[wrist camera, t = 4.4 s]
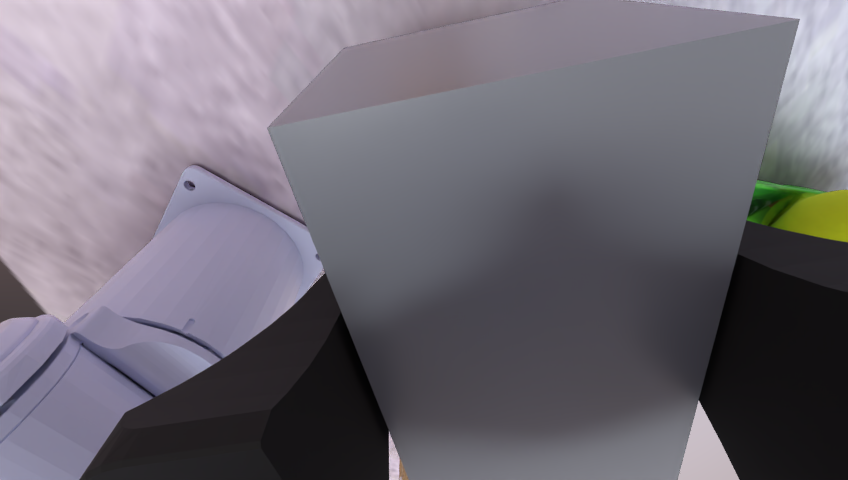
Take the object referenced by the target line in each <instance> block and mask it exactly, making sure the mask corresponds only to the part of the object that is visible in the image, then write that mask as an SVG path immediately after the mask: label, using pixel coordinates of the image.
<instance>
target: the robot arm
mask: <svg viewBox="0 0 848 480" xmlns="http://www.w3.org/2000/svg"><path fill="white" fill-rule="evenodd" d="M188 181H191V182H193V183H194V185H195V188H194V187H191V186H190V185H189V184H188ZM322 270H323V265H322V263H321V260H320V258H319V255H318V254H317V250H316V248H315V246H314V243H313V241H312V238H311V236H310V233H309V231H308V228H307V226H305V225H303V224H301V223H300V222H298V221H296V220H294V219H292V218H291V217H289V216H287V215H285V214H283V213H282V212H280V211H278V210H276V209H275V208H273V207H271V206H269V205H267V204H266V203H264V202H262V201H260V200H259V199H257V198H255V197H253V196H251V195H250V194H248V193H246V192H244V191H242V190H241V189H239V188H237V187H235V186H234V185H232V184H230V183H228V182H226V181H225V180H223V179H221V178H219V177H217V176H216V175H214V174H212V173H210V172H209V171H207V170H205V169H203V168H201V167H199V166H197V165H191V166H189V167H187V168H186V169H185V170H184V171H183V173H182V175H181V177H180V180H179V182H178V184H177V186H176V188H175V191H174V193H173V195H172V197H171V199H170V202H169V204H168V206H167V208H166V210H165V213H164V215H163V217H162V219H161V222H160V224H159V226H158V228H157V230H156V233H155V235H154V237H153V239H152V240H151V241H150V242H149V243H148V244H147V245H146V246H145V247H144V248H143V249H142V250H140V251H139V252H138V253H137V254H136V255H135V256H134V257H133V258H132V259H131V260H130V261H129V262H128V263H127V264H126V265H125V266H124V267H122V268H121V269H120V270H119V271H118V272H117V273H116V274H115V275H114V276H113V277H112V278H111V279H110V280H109V281H108V282H107V283H106V284H105V285H103V286H102V287H101V288H100V289H99V290H98V291H97V292H96V293H95V294H94V295H93V296H92V297H91V298H90V299H89V300H88V301H87V302H85V303H84V304H83V305H82V306H81V307H80V308H79V309H78V310H77V311H76V312H75V313H74V314H73V315H72V316H71V317H70V318H69V319H68V320H66V321H65V322H64V323H62V322H61V321H60V320H59V319H58V318H56V317H55V316H53V315H51V314H48V315H40V316H38V317H35V318H33V317H25V318H12V319H8V320H6V321H4V322H2V323H0V480H389V429H388V427H387V424H386V422H385V419H384V417H383V415H382V412H381V410H380V407H379V405H378V402H377V400H376V397H375V395H374V392H373V390H372V387H371V385H370V382H369V380H368V377H367V375H366V372H365V370H364V367H363V365H362V362H361V360H360V357H359V355H358V352H357V350H356V347H355V345H354V342H353V340H352V337H351V335H350V333H349V330H348V328H347V325H346V323H345V320H344V318H343V315H342V313H341V310H340V308H339V305H338V303H337V300H336V298H335V295H334V293H333V290H332V288H331V285H330V283H329V280H328V278H327V275H326V273H325V274H324V275H323V276H322V277H321V278H320V279H319V280H318V281H317V282H316V283H315V284H314V285H313V286H312V287H311V288H310V286H311V285H312V284H313V282H314V281H315V279H316V278H317V277H318V275H319V274H320V273H321V271H322ZM309 288H310V289H309ZM308 289H309V290H308ZM699 401H700V403H701V405H702V407H703V409H704V411H705V412H706V414H707V416H708V418H709V420H710V422H711V424H712V426H713V428H714V430H715V431H716V433H717V435H718V437H719V439H720V441H721V443H722V445H723V447H724V449H725V451H726V453H727V455H728V457H729V459H730V461H731V463H732V465H733V467H734V469H735V471H736V473H737V475H738V477H739V479H740V480H848V242H843V241H837V240H831V239H826V238H820V237H815V236H811V235H806V234H801V233H797V232H792V231H787V230H783V229H778V228H774V227H770V226H766V225H762V224H758V223H755V222H751V221H748V220H746V223H745V227H744V231H743V235H742V239H741V242H740V246H739V250H738V254H737V257H736V261H735V265H734V269H733V272H732V276H731V280H730V284H729V287H728V291H727V295H726V299H725V303H724V306H723V310H722V314H721V318H720V321H719V325H718V329H717V333H716V336H715V340H714V344H713V348H712V352H711V355H710V359H709V363H708V367H707V370H706V374H705V378H704V382H703V385H702V389H701V393H700V397H699Z"/></svg>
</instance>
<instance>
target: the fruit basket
mask: <svg viewBox="0 0 848 480" xmlns="http://www.w3.org/2000/svg"><path fill="white" fill-rule="evenodd" d="M747 220H748V221H751V222H755V223H758V224H762V225H766V226H770V227H774V228H778V229H783V230H787V231H792V232H797V233H801V234H806V235H811V236H815V237H820V238H826V239H831V240H837V241H843V242H848V190H838V191H831V192H824V191H819V190H814V189H809V188H805V187H798V186H792V185H779V184H775V183H771V182H766V181H760V180H757V182H756V186H755V190H754V193H753V197H752V201H751V205H750V208H749V212H748V216H747Z"/></svg>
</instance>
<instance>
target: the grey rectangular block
mask: <svg viewBox="0 0 848 480" xmlns="http://www.w3.org/2000/svg"><path fill="white" fill-rule="evenodd" d="M799 20H800V19H793V18H784V17H775V16H766V15H756V14H747V13H738V12H728V11H719V10H710V9H700V8H691V7H682V6H672V5H663V4H654V3H645V2H635V1H626V0H563V1H558V2H553V3H549V4H544V5H540V6H535V7H530V8H526V9H521V10H516V11H512V12H507V13H503V14H498V15H493V16H489V17H484V18H480V19H475V20H470V21H466V22H461V23H457V24H452V25H447V26H443V27H438V28H434V29H429V30H424V31H420V32H415V33H411V34H406V35H401V36H397V37H392V38H388V39H383V40H378V41H374V42H369V43H365V44H360V45H355V46H351V47H346V48H344V49H343V50H342V51H341V52H340V53H339V54H338V55H337V56H336V57H335V58H334V59H333V60H332V61H331V62H330V63H329V64H328V65H327V66H326V67H325V68H324V69H323V70H322V71H321V72H320V74H319V75H318V76H317V77H316V78H315V79H314V80H313V81H312V82H311V83H310V84H309V85H308V86H307V87H306V88H305V89H304V90H303V91H302V92H301V93H300V94H299V95H298V96H297V97H296V98H295V100H294V101H293V102H292V103H291V104H290V105H289V106H288V107H287V108H286V109H285V110H284V111H283V112H282V113H281V114H280V115H279V116H278V117H277V118H276V119H275V120H274V121H273V122H272V123H271V125H270V126H269V127H268V128H267V129H268V131H269V134H270V136H271V139H272V141H273V144H274V146H275V149H276V151H277V154H278V156H279V159H280V161H281V164H282V166H283V168H284V171H285V173H286V176H287V178H288V181H289V183H290V186H291V188H292V191H293V193H294V196H295V198H296V201H297V203H298V206H299V208H300V211H301V213H302V216H303V218H304V221H305V223H306V226H307V228H308V231H309V233H310V236H311V238H312V241H313V243H314V246H315V248H316V250H317V253H318V255H319V258H320V260H321V263H322V265H323V268H324V270H325V273H326V275H327V278H328V280H329V283H330V285H331V288H332V290H333V293H334V295H335V298H336V300H337V303H338V305H339V308H340V310H341V313H342V315H343V318H344V320H345V323H346V325H347V328H348V330H349V333H350V335H351V337H352V340H353V342H354V345H355V347H356V350H357V352H358V355H359V357H360V360H361V362H362V365H363V367H364V370H365V372H366V375H367V377H368V380H369V382H370V385H371V387H372V390H373V392H374V395H375V397H376V400H377V402H378V405H379V407H380V410H381V412H382V415H383V417H384V419H385V422H386V424H387V427H388V429H389V432H390V434H391V437H392V439H393V442H394V444H395V447H396V449H397V452H398V454H399V457H400V459H401V462H402V464H403V467H404V469H405V472H406V474H407V477H408V479H409V480H678V476H679V471H680V468H681V465H682V461H683V457H684V453H685V449H686V445H687V442H688V438H689V434H690V431H691V427H692V423H693V419H694V416H695V412H696V408H697V404H698V400H699V397H700V393H701V389H702V385H703V382H704V378H705V374H706V370H707V367H708V363H709V359H710V355H711V352H712V348H713V344H714V340H715V336H716V333H717V329H718V325H719V321H720V318H721V314H722V310H723V306H724V303H725V299H726V295H727V291H728V287H729V284H730V280H731V276H732V272H733V269H734V265H735V261H736V257H737V254H738V250H739V246H740V242H741V239H742V235H743V231H744V227H745V223H746V220H747V216H748V212H749V208H750V205H751V201H752V197H753V193H754V190H755V186H756V182H757V178H758V174H759V171H760V167H761V163H762V159H763V156H764V152H765V148H766V144H767V141H768V137H769V133H770V129H771V126H772V122H773V118H774V114H775V110H776V107H777V103H778V99H779V95H780V92H781V88H782V84H783V80H784V77H785V73H786V69H787V65H788V61H789V58H790V54H791V50H792V46H793V43H794V39H795V35H796V31H797V28H798V24H799Z"/></svg>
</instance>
